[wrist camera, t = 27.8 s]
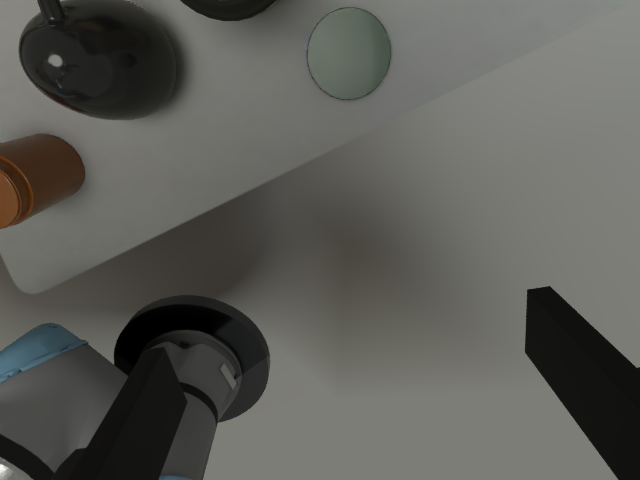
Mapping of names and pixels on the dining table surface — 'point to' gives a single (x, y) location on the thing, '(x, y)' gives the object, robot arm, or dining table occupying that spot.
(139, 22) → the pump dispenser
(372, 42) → the lid
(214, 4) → the coffee cup
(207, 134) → the dining table surface
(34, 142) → the jar
